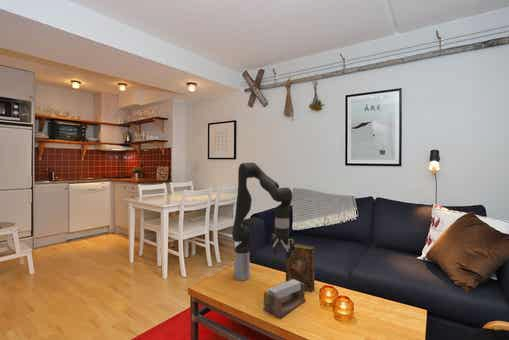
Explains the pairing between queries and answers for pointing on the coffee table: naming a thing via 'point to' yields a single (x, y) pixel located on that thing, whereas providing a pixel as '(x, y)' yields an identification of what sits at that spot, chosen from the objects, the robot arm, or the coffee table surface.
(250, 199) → the robot arm
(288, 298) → the shelf frame
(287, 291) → the grey rectangular bar
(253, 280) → the coffee table surface
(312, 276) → the book
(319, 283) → the coffee table surface
